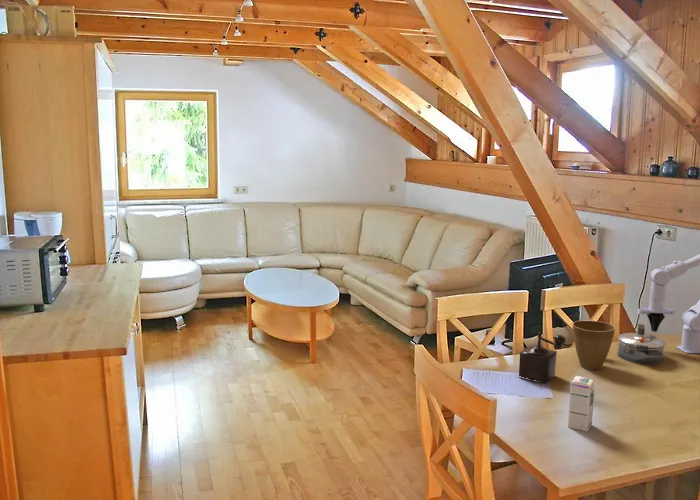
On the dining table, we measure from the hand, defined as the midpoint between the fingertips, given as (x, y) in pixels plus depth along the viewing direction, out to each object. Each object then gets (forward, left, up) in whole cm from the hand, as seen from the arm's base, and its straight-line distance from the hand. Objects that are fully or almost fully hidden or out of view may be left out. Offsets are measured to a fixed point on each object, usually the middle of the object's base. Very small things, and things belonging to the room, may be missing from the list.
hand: (654, 331), depth 261 cm
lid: (+9, +8, -1) cm, 13 cm away
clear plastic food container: (+10, +11, -7) cm, 17 cm away
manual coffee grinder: (+56, +33, -8) cm, 66 cm away
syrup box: (+58, +71, -8) cm, 92 cm away
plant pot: (+34, +21, -8) cm, 41 cm away
